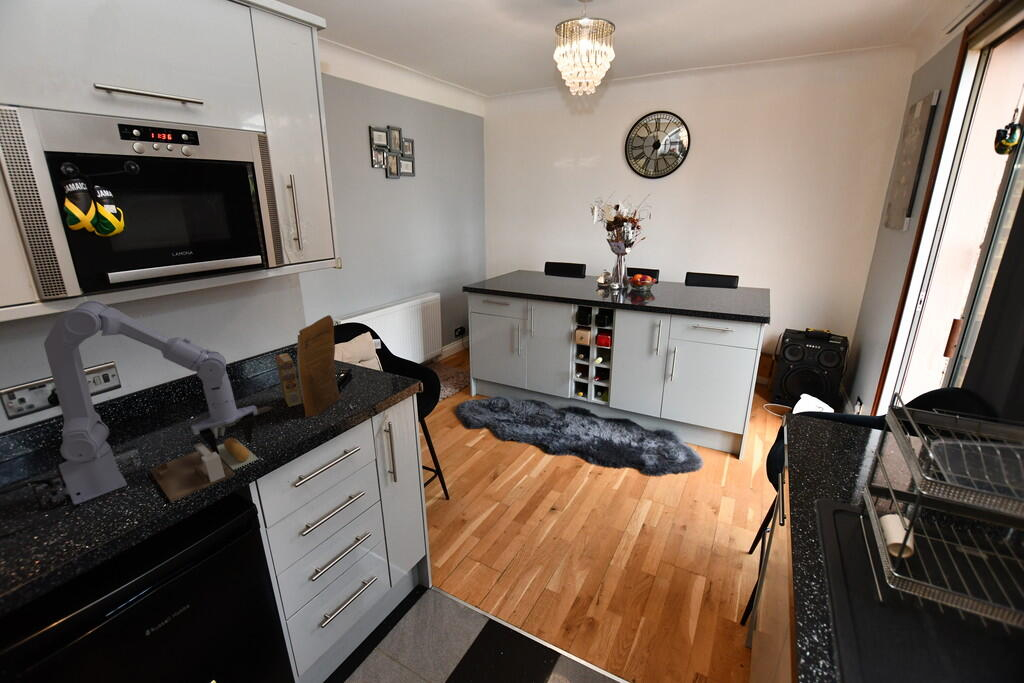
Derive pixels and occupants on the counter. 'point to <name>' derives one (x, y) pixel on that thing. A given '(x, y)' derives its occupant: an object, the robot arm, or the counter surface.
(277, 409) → the counter surface
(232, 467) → the mat
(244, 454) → the orange sausage
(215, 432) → the caliper
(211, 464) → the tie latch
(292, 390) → the candy box
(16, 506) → the counter surface
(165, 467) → the clamp board
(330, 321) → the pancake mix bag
